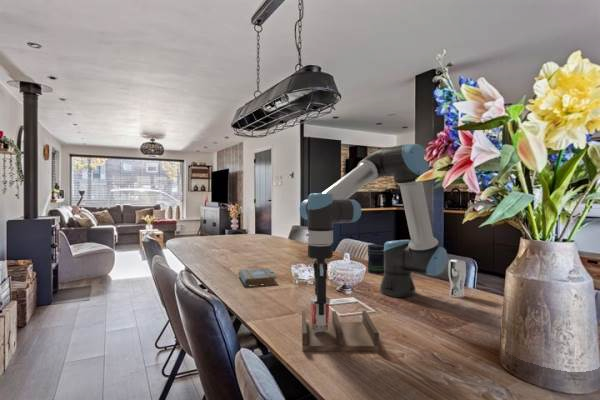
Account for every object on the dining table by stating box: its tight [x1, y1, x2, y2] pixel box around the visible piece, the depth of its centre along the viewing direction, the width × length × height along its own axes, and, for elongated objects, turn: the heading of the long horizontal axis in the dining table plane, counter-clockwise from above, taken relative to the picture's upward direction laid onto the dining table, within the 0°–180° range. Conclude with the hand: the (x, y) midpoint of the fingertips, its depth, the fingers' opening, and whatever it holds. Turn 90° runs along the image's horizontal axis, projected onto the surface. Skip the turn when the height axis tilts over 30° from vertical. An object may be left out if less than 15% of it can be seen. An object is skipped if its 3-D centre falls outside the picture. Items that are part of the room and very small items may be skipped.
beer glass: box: [447, 258, 467, 299], centre depth 146 cm, size 7×7×15 cm
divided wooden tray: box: [301, 310, 380, 352], centre depth 103 cm, size 21×18×5 cm
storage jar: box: [367, 243, 384, 275], centre depth 192 cm, size 10×10×15 cm
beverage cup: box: [309, 295, 331, 332], centre depth 103 cm, size 6×6×14 cm
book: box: [237, 267, 278, 287], centre depth 174 cm, size 21×16×5 cm
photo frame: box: [329, 296, 376, 318], centre depth 132 cm, size 15×1×18 cm
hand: (320, 320), depth 103 cm, fingers closed on beverage cup, 6 cm apart
